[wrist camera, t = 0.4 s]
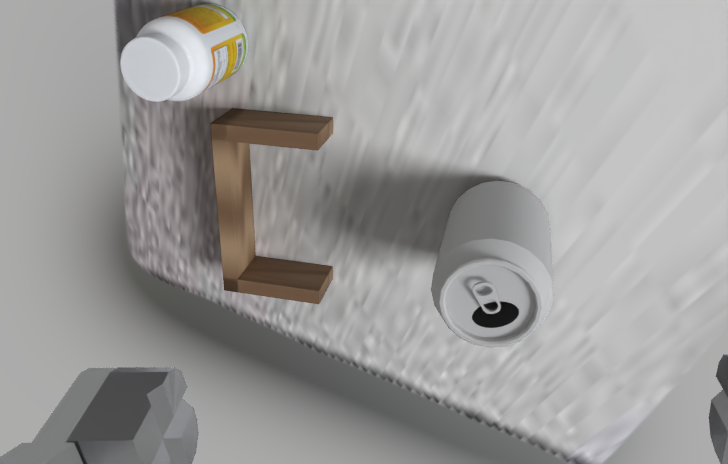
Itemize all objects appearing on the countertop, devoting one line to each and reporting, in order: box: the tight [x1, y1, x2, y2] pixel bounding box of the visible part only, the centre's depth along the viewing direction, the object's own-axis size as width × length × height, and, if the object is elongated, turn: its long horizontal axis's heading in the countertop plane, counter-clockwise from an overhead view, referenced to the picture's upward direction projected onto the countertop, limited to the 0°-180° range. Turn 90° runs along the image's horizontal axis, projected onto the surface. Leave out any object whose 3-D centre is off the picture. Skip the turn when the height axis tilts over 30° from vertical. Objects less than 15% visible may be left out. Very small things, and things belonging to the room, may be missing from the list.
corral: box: [210, 108, 333, 304], centre depth 52 cm, size 14×8×4 cm, turn 178°
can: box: [431, 181, 554, 347], centre depth 45 cm, size 8×8×12 cm
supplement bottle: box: [120, 4, 248, 102], centre depth 45 cm, size 5×5×10 cm
